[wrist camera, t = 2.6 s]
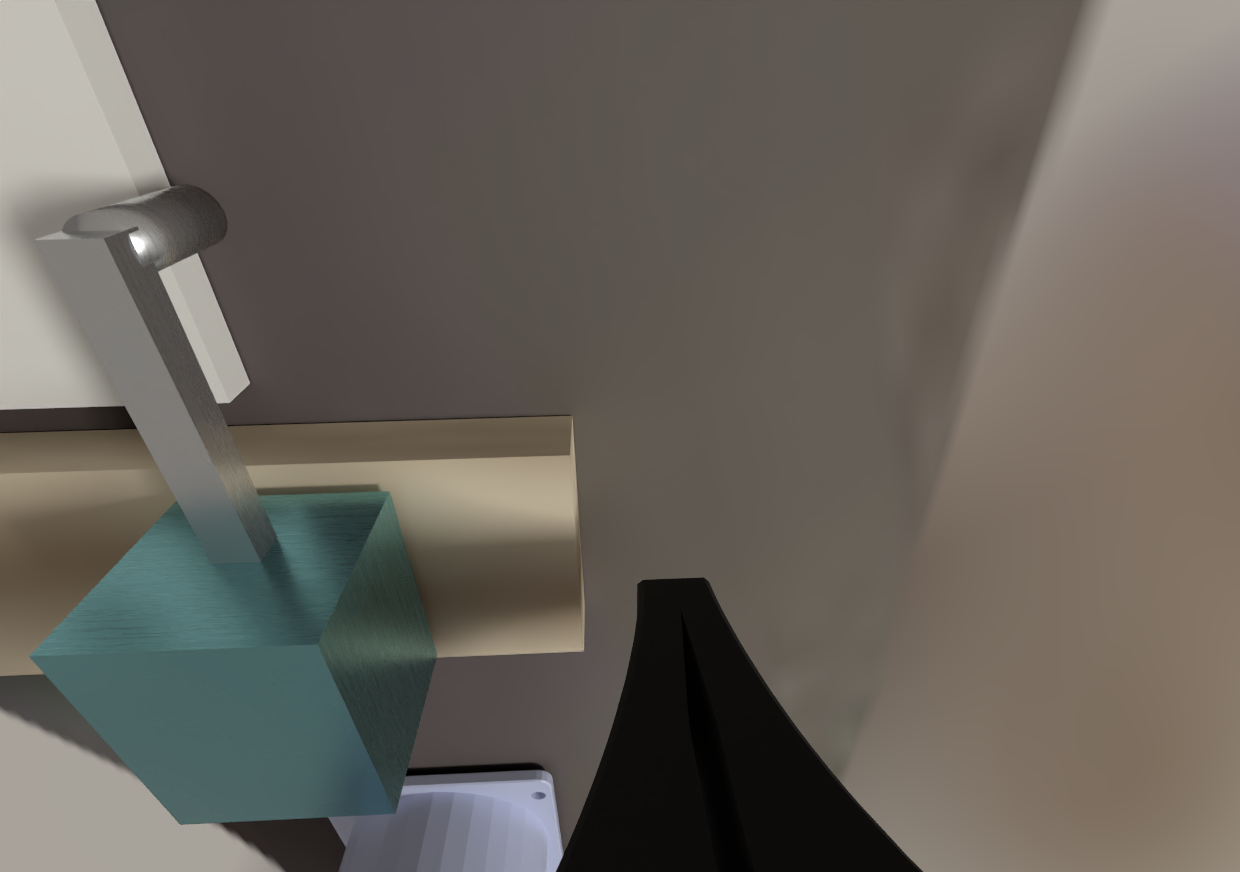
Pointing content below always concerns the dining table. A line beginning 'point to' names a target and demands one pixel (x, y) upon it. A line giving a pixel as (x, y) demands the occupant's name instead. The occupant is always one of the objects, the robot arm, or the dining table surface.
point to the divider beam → (317, 464)
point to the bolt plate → (76, 204)
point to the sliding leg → (230, 576)
